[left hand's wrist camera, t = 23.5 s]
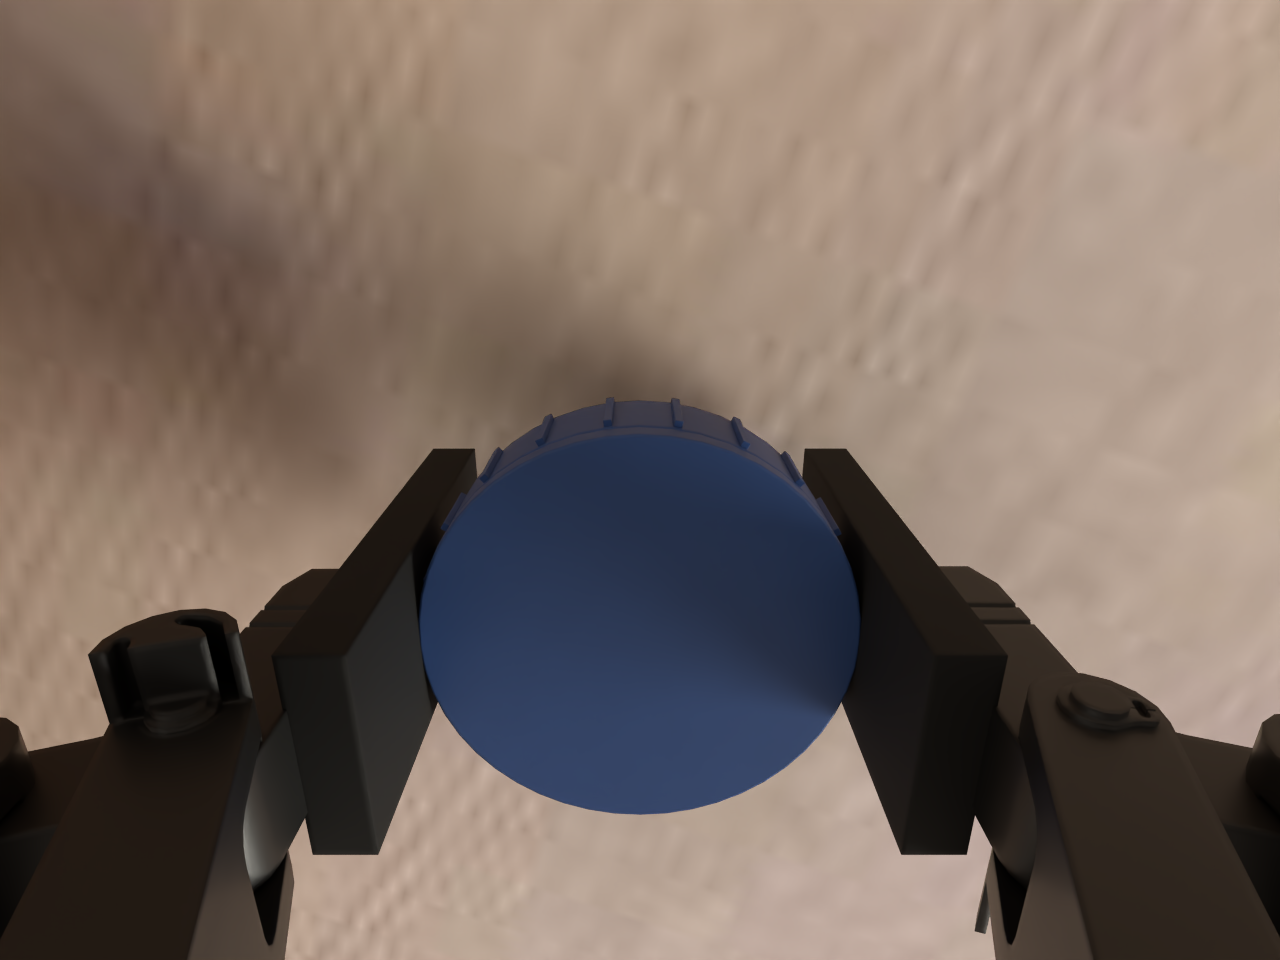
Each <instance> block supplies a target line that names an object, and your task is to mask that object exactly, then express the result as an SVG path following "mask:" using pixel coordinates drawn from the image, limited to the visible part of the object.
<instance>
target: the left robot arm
mask: <svg viewBox="0 0 1280 960" xmlns="http://www.w3.org/2000/svg"><path fill="white" fill-rule="evenodd" d="M476 479H477V470H476V458H475V449H433V450H432V451H431V453H430V454H429V455H428V456H427V458H426V459H425V460H424V462H423V463H422V464H421V465H420V467H419V468H418V469H417V470H416V472H415V473H414V474H413V476H412V477H411V478H410V479H409V481H408V482H407V483H406V484H405V486H404V487H403V488H402V490H401V491H400V492H399V493H398V495H397V496H396V497H395V498H394V500H393V501H392V502H391V504H390V505H389V506H388V507H387V509H386V510H385V511H384V512H383V514H382V515H381V516H380V518H379V519H378V520H377V521H376V523H375V524H374V525H373V526H372V528H371V529H370V530H369V532H368V533H367V534H366V535H365V537H364V538H363V539H362V540H361V542H360V543H359V544H358V546H357V547H356V548H355V549H354V551H353V552H352V553H351V554H350V556H349V557H348V558H347V560H346V561H345V562H344V563H343V565H342V566H341V567H340V568H339V569H311V570H309V571H308V572H306V573H304V574H302V575H301V576H299V577H297V578H296V579H294V580H292V581H290V582H289V583H287V584H285V585H284V586H282V587H281V588H280V590H279V591H278V592H277V593H276V594H275V595H274V596H273V597H272V599H271V600H270V601H269V602H268V603H267V604H266V605H265V609H264V610H261V611H260V612H259V613H258V614H257V615H256V616H255V618H254V619H253V620H252V621H251V622H250V626H249V627H246V628H245V629H244V630H243V631H242V632H241V633H239V628H238V624H237V620H236V619H234V618H233V617H232V616H230V615H229V614H227V613H226V612H222V611H216V610H211V609H190V610H178V611H174V612H169V613H165V614H160V615H156V616H152V617H149V618H146V619H144V620H141V621H138V622H136V623H133V624H131V625H128V626H125V627H124V628H122V629H120V630H118V631H117V632H115V633H113V634H112V635H110V636H108V637H107V638H105V639H103V640H102V641H101V642H100V643H99V644H98V645H97V646H96V647H95V648H94V649H93V650H92V651H91V652H90V653H89V654H88V656H89V660H90V663H91V666H92V669H93V672H94V676H95V679H96V682H97V685H98V688H99V691H100V695H101V698H102V701H103V704H104V707H105V711H106V714H107V717H108V720H109V723H110V724H109V726H108V728H107V730H106V732H105V734H104V736H101V737H98V738H94V739H89V740H84V741H79V742H74V743H69V744H64V745H59V746H54V747H49V748H44V749H39V750H34V751H29V752H28V751H27V748H26V746H25V743H24V740H23V737H22V735H21V732H20V729H19V727H18V726H17V725H16V724H14V723H13V722H11V721H10V720H8V719H7V718H0V960H284V959H285V951H286V944H287V936H288V928H289V920H290V912H291V904H292V896H293V888H294V877H293V870H292V864H291V860H290V856H289V851H288V849H289V847H290V845H291V843H292V841H293V839H294V838H295V836H296V834H297V832H298V830H299V828H300V826H301V824H302V822H303V821H304V819H305V820H306V824H307V829H308V834H309V839H310V843H311V848H312V853H313V855H378V854H379V851H380V849H381V846H382V844H383V841H384V838H385V836H386V833H387V831H388V828H389V826H390V823H391V821H392V818H393V815H394V813H395V810H396V808H397V805H398V803H399V800H400V798H401V795H402V792H403V790H404V787H405V785H406V782H407V780H408V777H409V775H410V772H411V769H412V767H413V764H414V762H415V759H416V757H417V754H418V752H419V749H420V746H421V744H422V741H423V739H424V736H425V734H426V731H427V729H428V726H429V723H430V721H431V718H432V716H433V713H434V711H435V708H436V706H437V703H438V701H437V699H436V697H435V695H434V693H433V691H432V688H431V685H430V683H429V680H428V677H427V674H426V672H425V668H424V663H423V658H422V652H421V644H420V636H419V623H418V617H419V608H420V598H421V592H422V588H423V584H424V581H423V578H424V577H425V575H426V573H427V569H428V567H429V565H430V562H431V560H432V558H433V555H434V553H435V551H436V548H437V546H438V544H439V542H440V541H441V539H442V537H443V535H444V534H445V532H446V531H444V530H442V529H441V526H442V525H443V523H444V521H445V519H446V518H447V516H448V514H449V513H450V511H451V509H452V507H453V506H454V504H455V502H456V501H457V499H458V497H459V495H460V494H461V492H462V493H464V494H466V495H467V493H468V492H469V490H470V489H471V487H472V485H473V484H474V482H475V481H476ZM802 479H803V480H804V482H805V483H806V485H807V487H808V488H809V490H810V491H811V493H812V494H813V496H814V497H815V499H818V498H820V497H821V499H822V500H823V502H824V504H825V505H826V507H827V509H828V511H829V512H830V514H831V516H832V517H833V519H834V521H835V523H836V524H837V526H838V528H839V530H840V532H841V535H839V536H837V538H838V540H839V542H840V543H841V546H842V548H843V550H844V552H845V555H846V557H847V559H848V561H849V564H850V566H851V568H852V572H853V576H854V579H855V583H856V587H857V590H858V595H859V604H860V613H861V627H860V639H859V648H858V655H857V660H856V666H855V669H854V672H853V675H852V678H851V681H850V684H849V686H848V689H847V692H846V694H845V696H844V698H843V699H842V701H841V702H842V704H843V707H844V709H845V712H846V714H847V717H848V720H849V722H850V725H851V727H852V730H853V732H854V735H855V737H856V740H857V743H858V745H859V748H860V750H861V753H862V755H863V758H864V760H865V763H866V766H867V768H868V771H869V773H870V776H871V778H872V781H873V783H874V786H875V789H876V791H877V794H878V796H879V799H880V801H881V804H882V807H883V809H884V812H885V814H886V817H887V819H888V822H889V824H890V827H891V830H892V832H893V835H894V837H895V840H896V842H897V845H898V847H899V850H900V853H901V855H967V851H968V846H969V841H970V836H971V831H972V827H973V822H974V817H975V816H976V818H977V820H978V821H979V823H980V825H981V827H982V829H983V831H984V833H985V835H986V836H987V838H988V840H989V842H990V844H991V846H992V851H991V856H990V860H989V864H988V869H987V873H986V878H985V882H984V887H983V891H982V896H981V900H980V904H979V909H978V913H977V919H976V926H975V931H976V932H980V933H984V934H985V933H986V929H987V925H988V921H989V917H990V918H991V926H992V934H993V941H994V949H995V957H996V960H1280V714H1274V715H1273V716H1271V717H1270V718H1268V719H1267V720H1266V721H1264V722H1263V723H1262V725H1261V727H1260V730H1259V733H1258V735H1257V738H1256V741H1255V744H1254V746H1253V748H1249V747H1244V746H1239V745H1234V744H1229V743H1224V742H1219V741H1213V740H1208V739H1203V738H1198V737H1193V736H1188V735H1184V734H1180V733H1176V732H1175V730H1174V728H1173V727H1172V725H1171V723H1170V721H1169V720H1168V719H1167V718H1166V717H1165V715H1164V714H1163V713H1162V712H1161V710H1160V709H1159V708H1158V707H1157V706H1156V705H1154V704H1153V703H1151V702H1150V701H1148V700H1147V699H1146V698H1144V697H1143V696H1141V695H1140V694H1138V693H1137V692H1135V691H1133V690H1131V689H1128V688H1126V687H1124V686H1122V685H1119V684H1117V683H1115V682H1113V681H1110V680H1107V679H1103V678H1099V677H1095V676H1091V675H1087V674H1083V673H1077V671H1076V670H1075V669H1074V668H1073V667H1072V666H1071V665H1070V664H1069V663H1068V661H1067V660H1066V659H1065V658H1064V657H1063V656H1062V655H1061V654H1060V653H1059V651H1058V650H1057V649H1056V648H1055V647H1054V646H1053V645H1052V644H1051V643H1050V641H1049V640H1048V639H1047V638H1046V637H1045V636H1044V635H1043V634H1042V633H1041V631H1040V630H1039V629H1038V628H1037V627H1036V626H1035V625H1034V624H1031V623H1030V619H1029V618H1028V617H1027V616H1026V615H1025V614H1024V613H1023V611H1022V610H1021V609H1020V608H1019V607H1015V603H1014V601H1013V600H1012V599H1011V598H1010V597H1009V596H1008V595H1007V594H1006V593H1005V591H1004V590H1003V589H1002V588H1001V587H1000V586H999V585H998V584H997V583H996V582H994V581H992V580H990V579H989V578H987V577H985V576H984V575H982V574H980V573H978V572H977V571H975V570H973V569H972V568H970V567H968V566H938V565H937V564H936V563H935V562H934V560H933V559H932V558H931V556H930V555H929V554H928V553H927V551H926V550H925V549H924V547H923V546H922V545H921V544H920V542H919V541H918V540H917V539H916V537H915V536H914V535H913V533H912V532H911V531H910V530H909V528H908V527H907V526H906V525H905V523H904V522H903V521H902V519H901V518H900V517H899V516H898V514H897V513H896V512H895V511H894V509H893V508H892V507H891V505H890V504H889V503H888V502H887V500H886V499H885V498H884V497H883V495H882V494H881V493H880V491H879V490H878V489H877V488H876V486H875V485H874V484H873V483H872V481H871V480H870V479H869V477H868V476H867V475H866V474H865V472H864V471H863V470H862V469H861V467H860V466H859V465H858V463H857V462H856V461H855V460H854V458H853V457H852V456H851V455H850V453H849V452H848V451H847V449H805V452H804V464H803V476H802Z"/></svg>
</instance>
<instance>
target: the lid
mask: <svg viewBox="0 0 1280 960" xmlns="http://www.w3.org/2000/svg"><path fill="white" fill-rule="evenodd" d="M441 529H442V530H444V531H446V532H445V534H444V535H443V537H442V539H441V541H440V542H439V544H438V546H437V548H436V551H435V553H434V555H433V558H432V560H431V562H430V565H429V567H428V569H427V573H426V575H425V577H424V578H423V581H424V584H423V588H422V592H421V598H420V608H419V617H418V623H419V636H420V644H421V652H422V658H423V663H424V668H425V672H426V674H427V677H428V680H429V683H430V685H431V688H432V691H433V693H434V695H435V697H436V699H437V701H438V703H439V705H440V706H441V708H442V710H443V712H444V714H445V716H446V717H447V718H448V720H449V721H450V722H451V724H452V725H453V727H454V728H455V729H456V731H457V732H458V734H459V735H460V736H461V737H462V738H463V739H464V740H465V741H466V742H467V743H468V744H469V745H470V747H471V748H472V749H473V750H474V751H475V752H476V753H477V754H478V755H480V756H481V757H482V758H483V759H484V760H486V761H487V762H488V763H489V764H490V765H492V766H493V767H494V768H495V769H497V770H498V771H500V772H501V773H503V774H504V775H506V776H507V777H509V778H511V779H512V780H514V781H515V782H517V783H519V784H521V785H523V786H525V787H527V788H529V789H531V790H533V791H535V792H537V793H539V794H541V795H544V796H546V797H549V798H552V799H554V800H557V801H560V802H562V803H566V804H569V805H573V806H577V807H581V808H585V809H589V810H596V811H602V812H609V813H618V814H639V815H642V814H660V813H671V812H677V811H683V810H690V809H695V808H698V807H702V806H706V805H710V804H713V803H717V802H720V801H722V800H725V799H728V798H730V797H733V796H736V795H738V794H741V793H743V792H745V791H747V790H749V789H751V788H753V787H755V786H757V785H759V784H761V783H762V782H764V781H766V780H767V779H769V778H770V777H772V776H773V775H775V774H776V773H778V772H779V771H781V770H782V769H784V768H785V767H787V766H788V765H789V764H790V763H791V762H792V761H794V760H795V759H796V758H797V757H798V756H800V755H801V754H802V753H803V752H804V751H805V750H806V749H807V748H808V747H809V746H810V745H811V744H812V743H813V742H814V740H815V739H816V738H817V737H818V736H819V735H820V734H821V733H822V731H823V730H824V728H825V727H826V726H827V724H828V723H829V721H830V720H831V719H832V717H833V716H834V714H835V713H836V711H837V709H838V707H839V705H840V703H841V701H842V699H843V698H844V696H845V694H846V692H847V689H848V686H849V684H850V681H851V678H852V675H853V672H854V669H855V666H856V660H857V655H858V648H859V639H860V627H861V613H860V604H859V595H858V590H857V587H856V583H855V579H854V576H853V572H852V568H851V566H850V564H849V561H848V559H847V557H846V555H845V552H844V550H843V548H842V546H841V543H840V542H839V540H838V538H837V536H839V535H841V532H840V530H839V528H838V526H837V524H836V523H835V521H834V519H833V517H832V516H831V514H830V512H829V511H828V509H827V507H826V505H825V504H824V502H823V500H822V499H821V497H820V498H818V499H815V497H814V496H813V494H812V493H811V491H810V490H809V488H808V487H807V485H806V483H805V482H804V480H803V479H802V477H801V475H800V473H799V471H798V470H797V468H796V466H795V464H794V462H793V461H792V459H791V457H790V455H789V454H788V453H787V452H783V453H782V454H779V453H778V452H777V451H776V450H775V449H774V448H773V447H771V446H770V445H769V444H768V443H767V442H766V441H764V440H762V439H761V438H759V437H758V436H756V435H755V434H753V433H752V432H750V431H749V430H747V429H746V428H744V427H743V426H742V423H741V421H740V419H738V418H736V417H733V419H732V421H730V420H727V419H725V418H723V417H721V416H719V415H716V414H713V413H710V412H707V411H703V410H700V409H697V408H694V407H689V406H684V405H680V401H679V399H675V398H672V400H671V403H668V402H655V401H625V402H615V401H614V397H612V398H607V399H606V404H601V405H595V406H590V407H585V408H582V409H579V410H576V411H573V412H570V413H567V414H564V415H561V416H558V417H556V418H553V416H552V414H550V415H548V416H546V417H545V418H544V420H543V423H542V425H540V426H537V427H535V428H533V429H532V430H530V431H529V432H527V433H526V434H525V435H523V436H522V437H520V438H519V439H517V440H516V441H514V442H513V443H511V444H510V445H509V446H508V447H507V448H506V449H504V450H503V451H502V450H501V449H500V448H499V447H498V448H497V449H496V450H495V451H494V452H493V454H492V456H491V458H490V460H489V461H488V463H487V465H486V467H485V469H484V471H483V472H482V473H481V474H480V476H479V477H478V478H477V479H476V481H475V482H474V484H473V485H472V487H471V489H470V490H469V492H468V493H467V495H466V494H464V493H462V492H461V494H460V495H459V497H458V499H457V501H456V502H455V504H454V506H453V507H452V509H451V511H450V513H449V514H448V516H447V518H446V519H445V521H444V523H443V525H442V526H441Z"/></svg>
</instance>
